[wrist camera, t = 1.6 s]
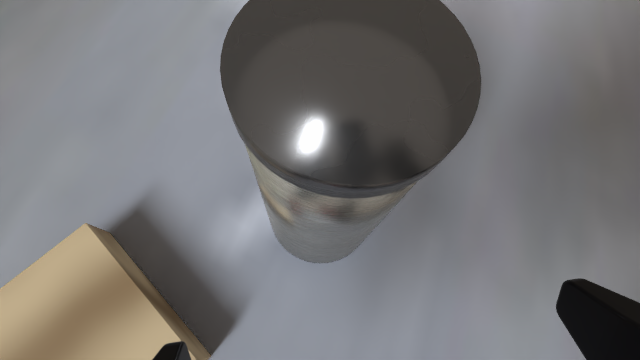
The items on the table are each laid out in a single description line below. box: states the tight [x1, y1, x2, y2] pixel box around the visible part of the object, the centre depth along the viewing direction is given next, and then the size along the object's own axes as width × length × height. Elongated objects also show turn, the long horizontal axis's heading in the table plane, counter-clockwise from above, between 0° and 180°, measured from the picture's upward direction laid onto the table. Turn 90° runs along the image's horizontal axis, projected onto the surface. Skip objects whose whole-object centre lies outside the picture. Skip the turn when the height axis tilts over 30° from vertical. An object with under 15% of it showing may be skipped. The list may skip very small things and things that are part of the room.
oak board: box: [0, 223, 211, 360], centre depth 17 cm, size 9×9×2 cm
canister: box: [220, 0, 481, 263], centre depth 15 cm, size 6×6×14 cm
